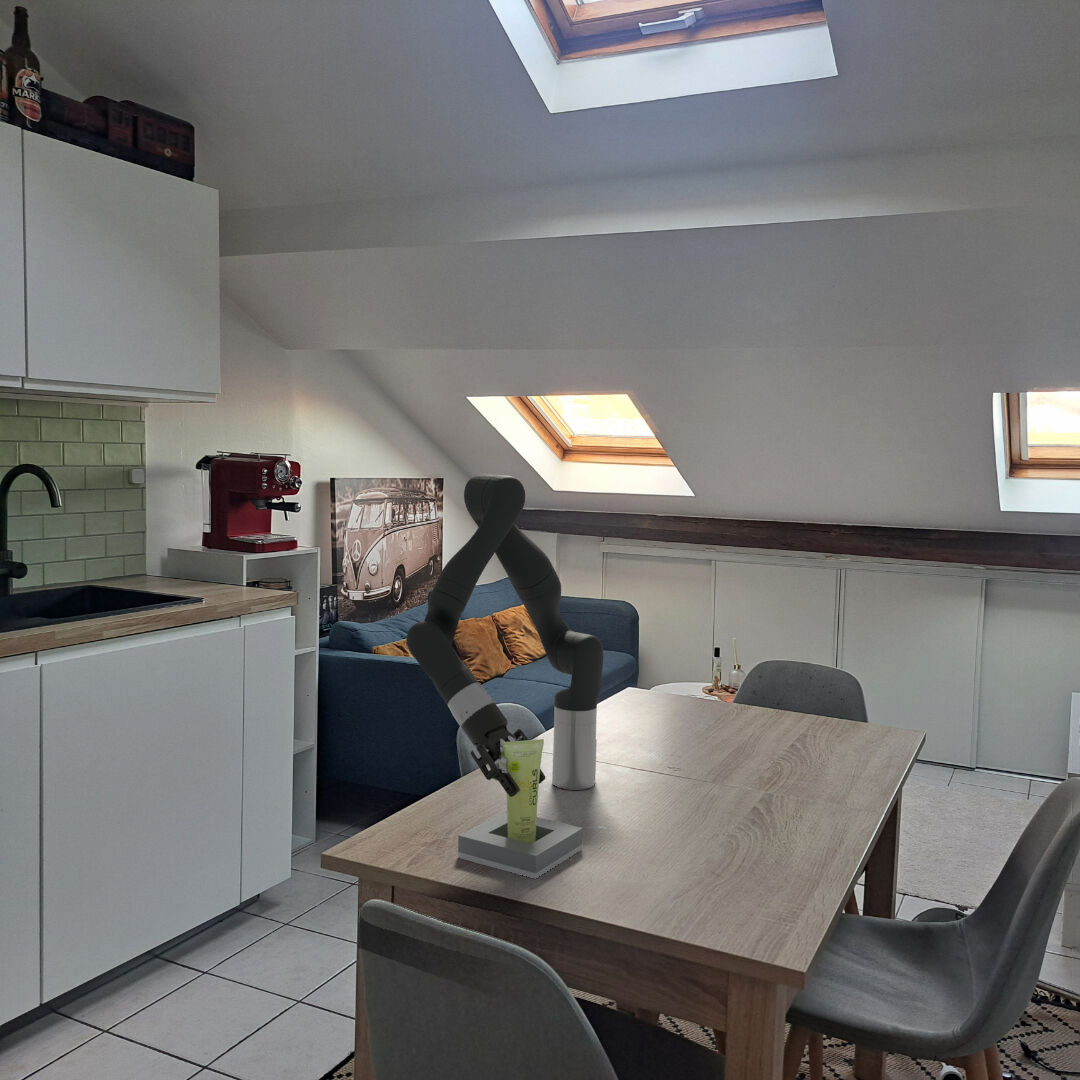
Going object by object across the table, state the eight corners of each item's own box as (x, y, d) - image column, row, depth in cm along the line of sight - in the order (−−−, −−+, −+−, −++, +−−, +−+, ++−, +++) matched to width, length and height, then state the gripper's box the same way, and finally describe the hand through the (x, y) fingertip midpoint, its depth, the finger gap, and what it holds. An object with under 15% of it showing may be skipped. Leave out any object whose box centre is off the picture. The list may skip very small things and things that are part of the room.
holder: (508, 830, 189) (508, 810, 189) (582, 849, 181) (582, 828, 180) (457, 857, 175) (458, 835, 175) (535, 879, 167) (536, 855, 167)
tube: (524, 856, 174) (527, 745, 173) (499, 849, 177) (502, 741, 175) (540, 846, 179) (544, 738, 178) (516, 840, 182) (519, 734, 180)
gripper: (466, 709, 174) (520, 786, 169) (511, 694, 186) (562, 766, 181) (441, 734, 177) (493, 810, 172) (487, 718, 189) (537, 789, 184)
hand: (529, 787), depth 176 cm, fingers open, 8 cm apart
